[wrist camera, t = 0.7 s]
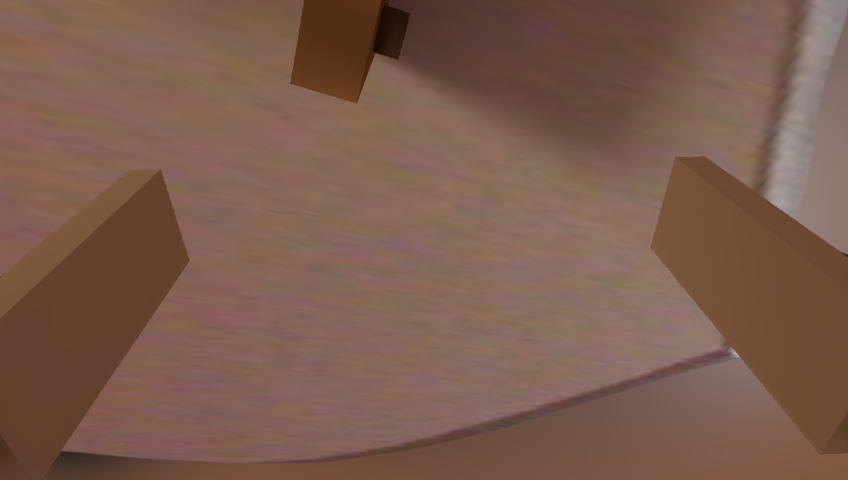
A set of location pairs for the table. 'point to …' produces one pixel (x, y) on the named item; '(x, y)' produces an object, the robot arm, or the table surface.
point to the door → (344, 43)
